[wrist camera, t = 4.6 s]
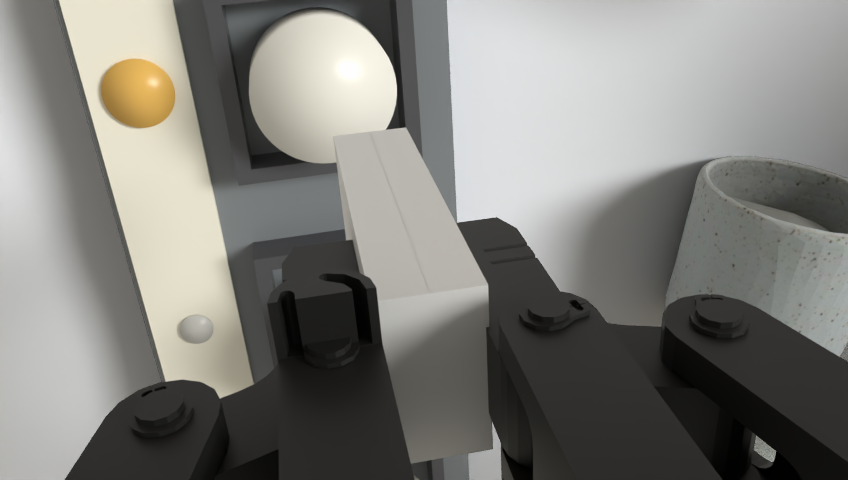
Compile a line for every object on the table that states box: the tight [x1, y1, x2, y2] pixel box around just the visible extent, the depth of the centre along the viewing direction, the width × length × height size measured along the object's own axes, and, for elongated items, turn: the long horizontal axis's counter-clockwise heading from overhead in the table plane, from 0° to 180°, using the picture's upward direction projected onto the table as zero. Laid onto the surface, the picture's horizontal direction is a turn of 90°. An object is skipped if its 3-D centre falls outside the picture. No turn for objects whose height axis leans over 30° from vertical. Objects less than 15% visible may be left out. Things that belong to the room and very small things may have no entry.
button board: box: [54, 0, 469, 480], centre depth 29 cm, size 12×26×4 cm, turn 4°
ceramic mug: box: [665, 156, 848, 357], centre depth 31 cm, size 11×8×8 cm
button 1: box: [249, 7, 397, 163], centre depth 23 cm, size 4×4×2 cm
